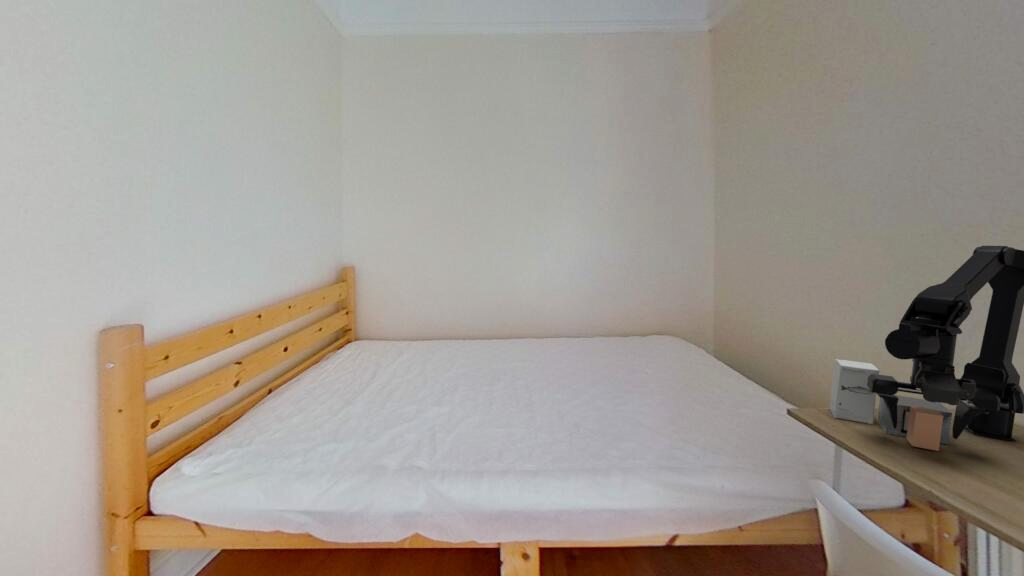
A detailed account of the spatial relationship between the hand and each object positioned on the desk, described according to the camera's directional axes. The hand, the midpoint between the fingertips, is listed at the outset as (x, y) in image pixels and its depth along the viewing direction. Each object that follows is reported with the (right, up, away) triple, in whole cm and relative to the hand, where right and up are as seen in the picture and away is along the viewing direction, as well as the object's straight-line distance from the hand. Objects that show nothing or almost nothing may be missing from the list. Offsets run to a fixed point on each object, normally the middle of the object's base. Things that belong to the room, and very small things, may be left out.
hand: (923, 432), depth 91 cm
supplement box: (-3, -1, +15) cm, 16 cm away
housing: (+4, -2, +7) cm, 8 cm away
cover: (+2, -2, +4) cm, 5 cm away
